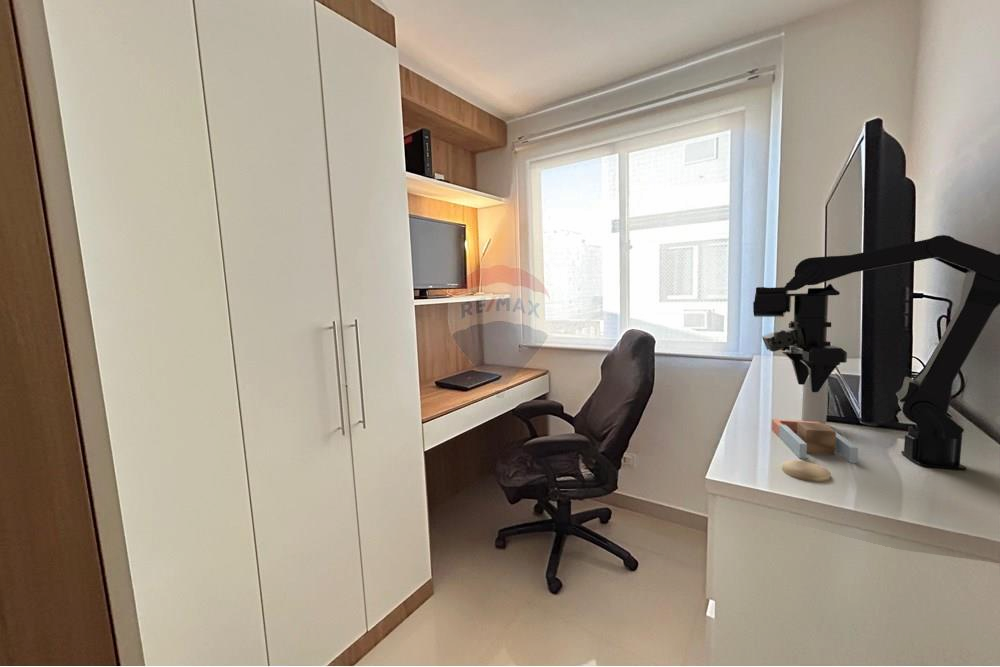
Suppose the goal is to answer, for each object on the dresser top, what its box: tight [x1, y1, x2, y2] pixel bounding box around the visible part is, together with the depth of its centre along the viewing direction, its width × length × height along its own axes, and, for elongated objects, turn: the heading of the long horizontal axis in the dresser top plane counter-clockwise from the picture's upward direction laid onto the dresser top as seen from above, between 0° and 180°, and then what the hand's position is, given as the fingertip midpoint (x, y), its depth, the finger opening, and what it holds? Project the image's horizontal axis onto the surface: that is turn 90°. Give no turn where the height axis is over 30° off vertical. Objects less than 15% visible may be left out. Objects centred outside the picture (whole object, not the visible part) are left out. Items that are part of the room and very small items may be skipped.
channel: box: [778, 425, 859, 464], centre depth 84 cm, size 9×12×3 cm
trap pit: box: [771, 418, 820, 438], centre depth 92 cm, size 9×6×2 cm, turn 71°
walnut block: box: [797, 422, 837, 456], centre depth 84 cm, size 5×5×5 cm
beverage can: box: [800, 375, 829, 425], centre depth 99 cm, size 5×5×12 cm
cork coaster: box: [781, 460, 831, 483], centre depth 74 cm, size 7×7×1 cm
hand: (807, 388), depth 88 cm, fingers open, 7 cm apart
